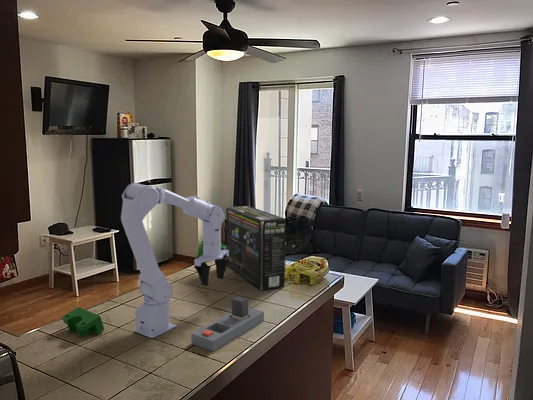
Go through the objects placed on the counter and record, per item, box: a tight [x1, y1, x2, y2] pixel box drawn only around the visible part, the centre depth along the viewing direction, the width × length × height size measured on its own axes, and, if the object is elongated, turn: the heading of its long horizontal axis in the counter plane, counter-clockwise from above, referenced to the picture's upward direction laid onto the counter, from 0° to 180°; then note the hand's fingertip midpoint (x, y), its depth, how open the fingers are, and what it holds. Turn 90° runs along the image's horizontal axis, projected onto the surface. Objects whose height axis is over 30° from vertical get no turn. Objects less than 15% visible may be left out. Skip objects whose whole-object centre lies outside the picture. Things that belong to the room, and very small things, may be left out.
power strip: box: [190, 306, 265, 352], centre depth 130 cm, size 24×8×4 cm, turn 145°
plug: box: [231, 295, 249, 321], centre depth 134 cm, size 3×4×8 cm
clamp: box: [62, 306, 105, 339], centre depth 129 cm, size 12×6×9 cm, turn 48°
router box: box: [225, 205, 287, 291], centre depth 180 cm, size 36×11×27 cm, turn 27°
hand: (212, 281), depth 144 cm, fingers open, 7 cm apart
